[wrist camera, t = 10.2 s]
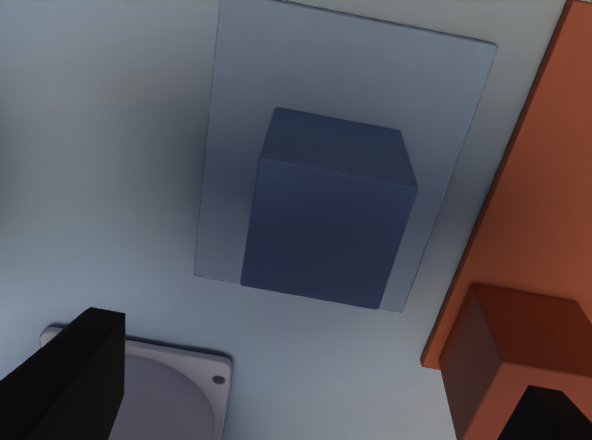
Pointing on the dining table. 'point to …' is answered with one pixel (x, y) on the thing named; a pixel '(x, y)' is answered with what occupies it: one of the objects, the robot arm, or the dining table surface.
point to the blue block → (328, 209)
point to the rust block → (513, 356)
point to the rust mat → (538, 190)
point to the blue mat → (332, 112)
